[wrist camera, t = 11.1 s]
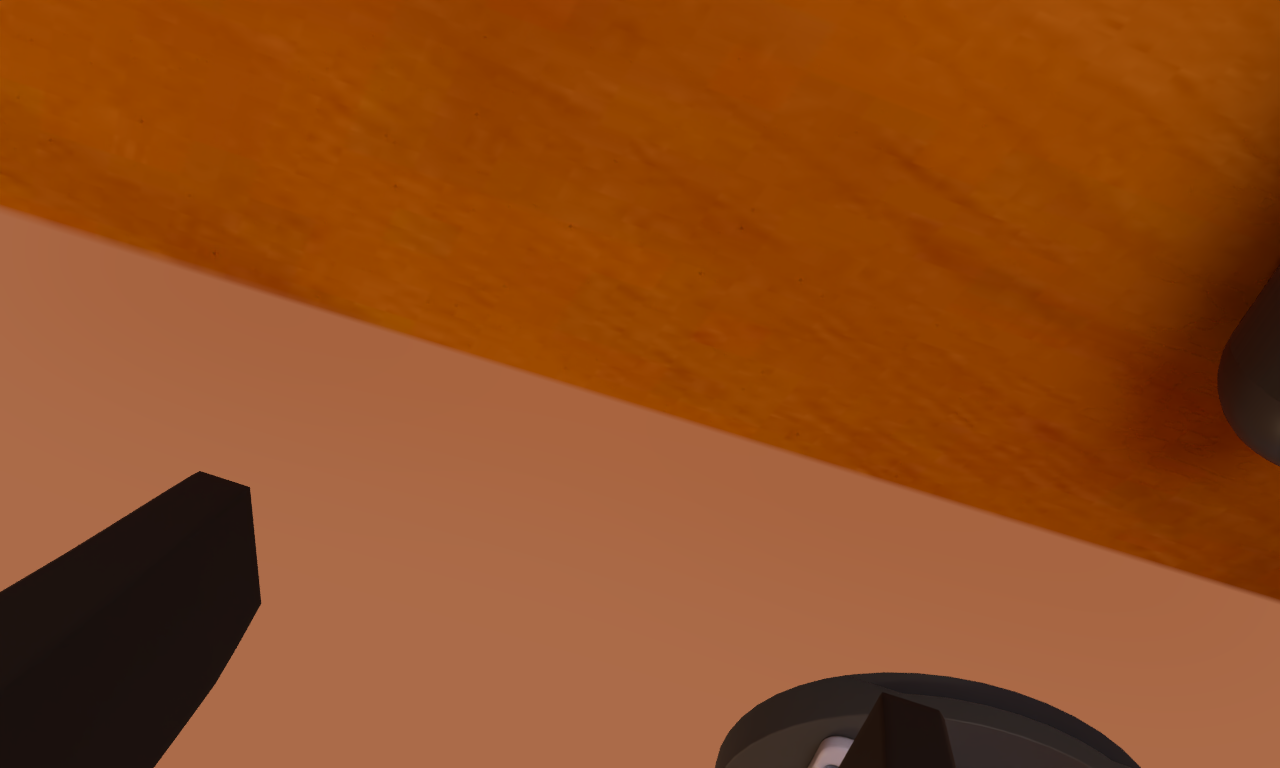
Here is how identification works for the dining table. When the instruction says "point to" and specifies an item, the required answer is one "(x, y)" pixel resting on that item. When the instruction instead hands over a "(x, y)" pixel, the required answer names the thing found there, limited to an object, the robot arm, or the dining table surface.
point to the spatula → (1255, 374)
